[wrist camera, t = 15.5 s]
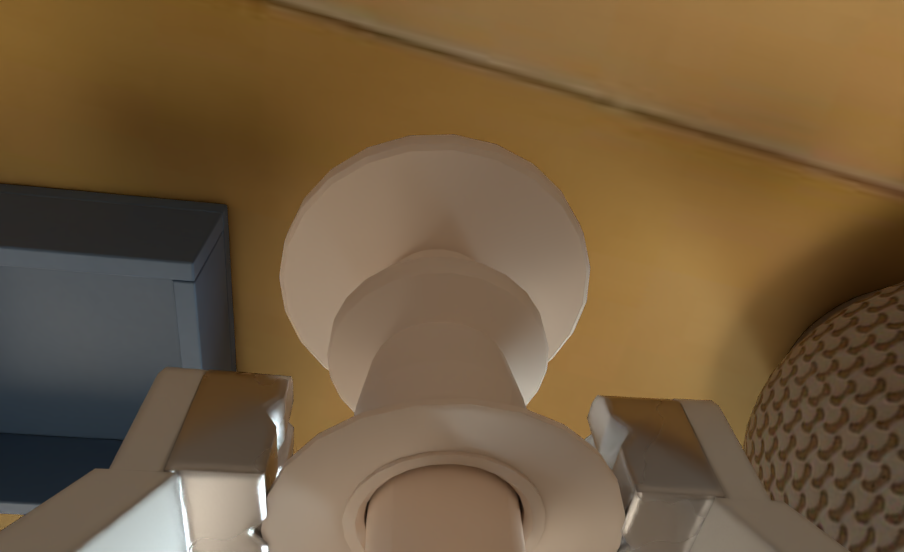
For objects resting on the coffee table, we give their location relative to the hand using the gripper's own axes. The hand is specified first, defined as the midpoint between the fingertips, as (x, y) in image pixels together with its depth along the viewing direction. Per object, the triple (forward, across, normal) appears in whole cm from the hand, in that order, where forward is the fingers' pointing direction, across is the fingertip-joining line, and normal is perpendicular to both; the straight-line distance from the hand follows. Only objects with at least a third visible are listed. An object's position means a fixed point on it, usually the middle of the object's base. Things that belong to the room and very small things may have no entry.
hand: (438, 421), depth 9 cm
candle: (+4, 0, 0) cm, 4 cm away
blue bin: (+12, +11, +9) cm, 19 cm away
